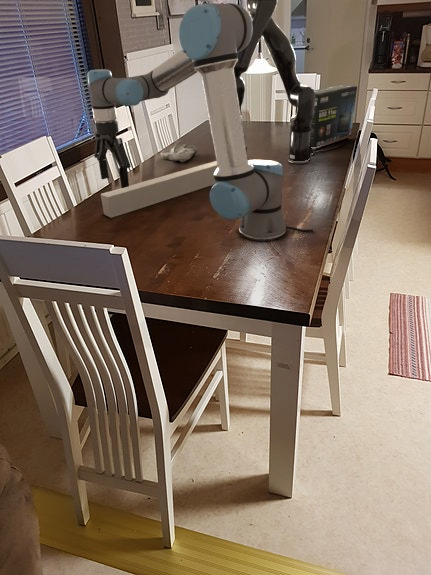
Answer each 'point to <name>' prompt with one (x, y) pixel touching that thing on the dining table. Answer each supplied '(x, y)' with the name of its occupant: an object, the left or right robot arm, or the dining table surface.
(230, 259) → the dining table surface
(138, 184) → the beam
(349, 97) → the router box
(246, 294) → the dining table surface
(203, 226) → the dining table surface
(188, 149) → the fossil
